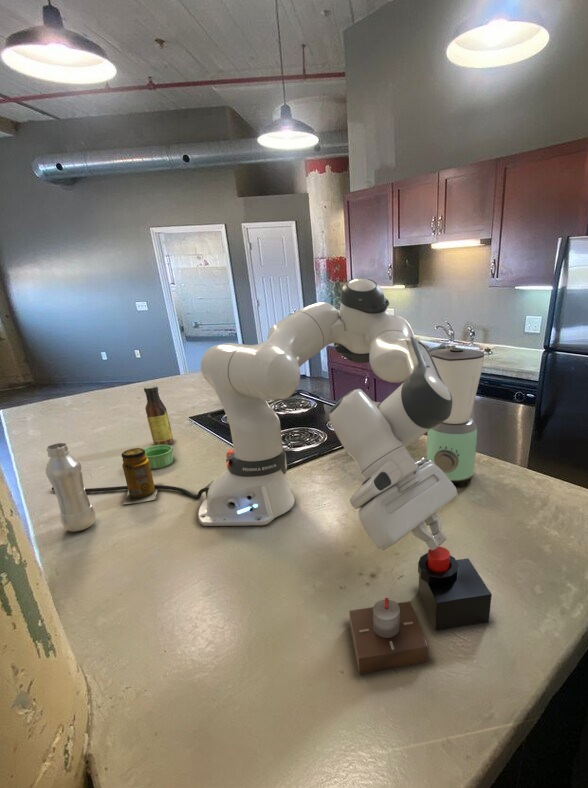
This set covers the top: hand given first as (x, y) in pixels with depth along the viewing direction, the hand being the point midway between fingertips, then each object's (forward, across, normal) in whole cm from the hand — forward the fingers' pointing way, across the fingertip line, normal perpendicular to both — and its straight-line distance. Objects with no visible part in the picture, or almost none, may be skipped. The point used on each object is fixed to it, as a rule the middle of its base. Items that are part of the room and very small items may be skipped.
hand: (439, 545), depth 68 cm
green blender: (-8, -42, -24) cm, 49 cm away
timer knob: (+5, +13, -6) cm, 15 cm away
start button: (+3, 0, -3) cm, 4 cm away
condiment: (-48, +18, -64) cm, 81 cm away
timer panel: (+7, +13, -8) cm, 17 cm away
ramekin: (-59, +6, -75) cm, 96 cm away
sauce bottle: (-70, -2, -86) cm, 111 cm away
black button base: (+10, 0, -6) cm, 11 cm away
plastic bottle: (-44, +33, -60) cm, 82 cm away
